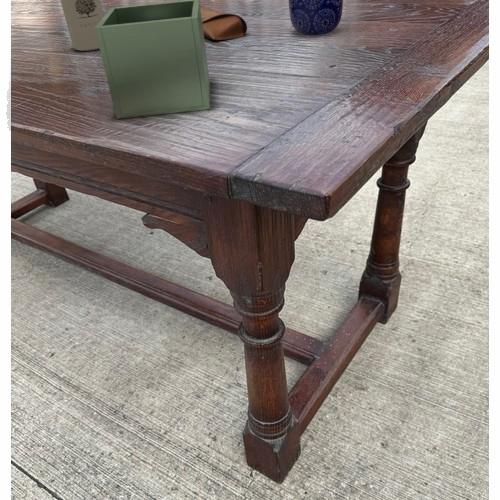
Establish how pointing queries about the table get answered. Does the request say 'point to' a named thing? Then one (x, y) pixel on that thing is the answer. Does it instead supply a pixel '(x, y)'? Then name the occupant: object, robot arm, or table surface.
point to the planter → (315, 15)
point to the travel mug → (83, 22)
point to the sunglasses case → (222, 25)
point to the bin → (155, 58)
